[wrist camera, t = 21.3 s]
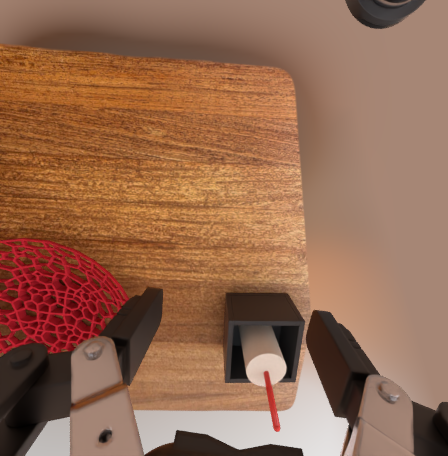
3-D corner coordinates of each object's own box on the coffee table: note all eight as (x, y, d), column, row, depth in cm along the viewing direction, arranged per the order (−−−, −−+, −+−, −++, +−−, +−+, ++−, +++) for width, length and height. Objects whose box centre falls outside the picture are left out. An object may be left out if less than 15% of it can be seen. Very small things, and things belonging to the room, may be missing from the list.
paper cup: (270, 309, 40) (306, 397, 24) (268, 336, 41) (301, 435, 26) (238, 309, 40) (255, 399, 24) (237, 336, 41) (252, 437, 25)
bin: (287, 293, 40) (305, 321, 33) (281, 345, 43) (295, 382, 35) (225, 292, 39) (228, 320, 32) (222, 345, 42) (224, 383, 35)
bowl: (-33, 213, 34) (-74, 220, 29) (156, 248, 37) (147, 259, 32) (-23, 364, 41) (-55, 390, 36) (135, 383, 44) (126, 410, 39)
